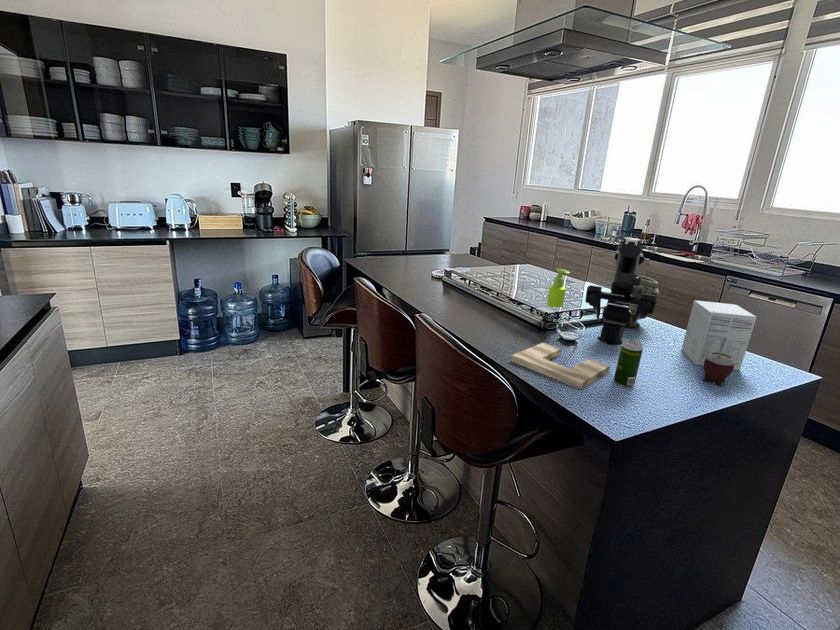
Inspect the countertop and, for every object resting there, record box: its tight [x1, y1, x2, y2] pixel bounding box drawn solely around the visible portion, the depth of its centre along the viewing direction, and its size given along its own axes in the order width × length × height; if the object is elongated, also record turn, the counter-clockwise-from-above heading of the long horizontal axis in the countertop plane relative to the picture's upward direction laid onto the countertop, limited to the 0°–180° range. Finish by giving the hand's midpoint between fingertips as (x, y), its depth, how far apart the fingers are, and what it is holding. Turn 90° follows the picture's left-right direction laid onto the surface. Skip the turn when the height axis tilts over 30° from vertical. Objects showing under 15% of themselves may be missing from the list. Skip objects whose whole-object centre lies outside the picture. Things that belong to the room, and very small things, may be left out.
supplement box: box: [680, 300, 758, 371], centre depth 144 cm, size 13×13×18 cm
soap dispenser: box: [546, 268, 571, 308], centre depth 171 cm, size 6×7×20 cm
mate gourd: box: [702, 338, 734, 387], centre depth 129 cm, size 8×8×15 cm
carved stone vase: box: [629, 275, 660, 328], centre depth 172 cm, size 12×12×18 cm
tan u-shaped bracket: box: [511, 342, 611, 390], centre depth 134 cm, size 17×22×2 cm
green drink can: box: [613, 339, 644, 389], centre depth 124 cm, size 5×5×12 cm
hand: (615, 321), depth 130 cm, fingers open, 9 cm apart
